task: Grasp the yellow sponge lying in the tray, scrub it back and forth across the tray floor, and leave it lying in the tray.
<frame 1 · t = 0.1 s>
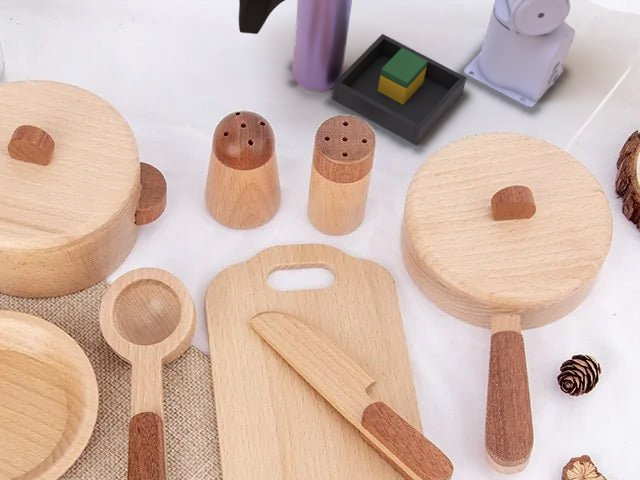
hand: (246, 6, 120), 11 cm above the table, tool pointing down, fingers open, 7 cm apart
sponge: (400, 87, 128), resting on tray
tray: (396, 99, 127), on the table
beverage can: (316, 77, 129), on the table
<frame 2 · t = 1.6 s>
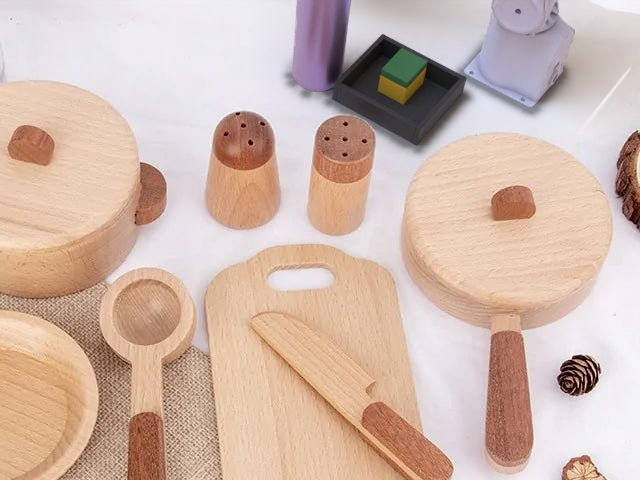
nothing on the table moved.
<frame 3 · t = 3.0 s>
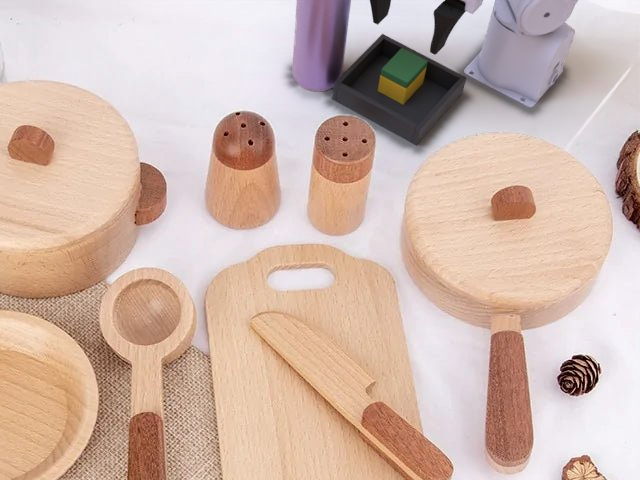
hand: (408, 33, 122), 8 cm above the table, tool pointing down, fingers open, 7 cm apart
nothing on the table moved.
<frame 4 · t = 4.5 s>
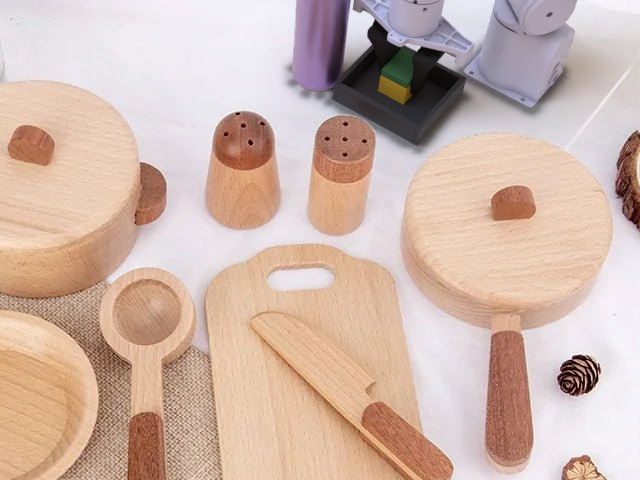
hand: (401, 81, 127), 1 cm above the table, tool pointing down, fingers closed on sponge, 3 cm apart
sponge: (400, 87, 128), resting on tray, touching gripper
everything else where it was.
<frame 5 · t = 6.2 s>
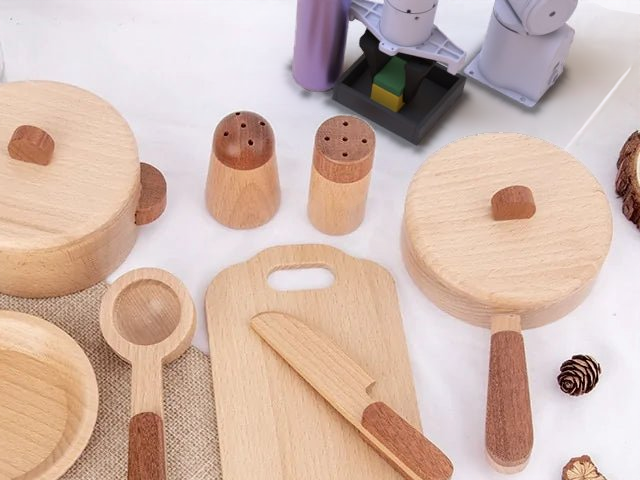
hand: (393, 89, 126), 1 cm above the table, tool pointing down, fingers closed on sponge, 3 cm apart
sponge: (393, 95, 127), point 1 cm above the table, touching gripper, tray
everything else where it was.
when the fingers open (1 cm above the table, at t = 7.7 s): sponge stays where it is, resting on tray.
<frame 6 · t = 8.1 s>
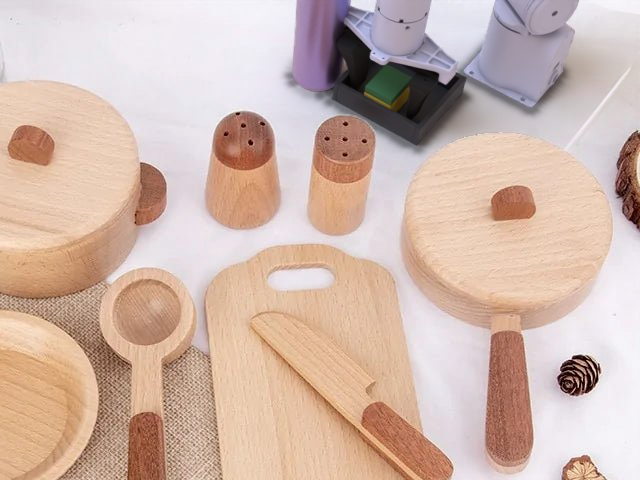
hand: (385, 98, 126), 1 cm above the table, tool pointing down, fingers open, 7 cm apart
sponge: (384, 103, 126), resting on tray
beverage can: (316, 77, 129), on the table, touching gripper
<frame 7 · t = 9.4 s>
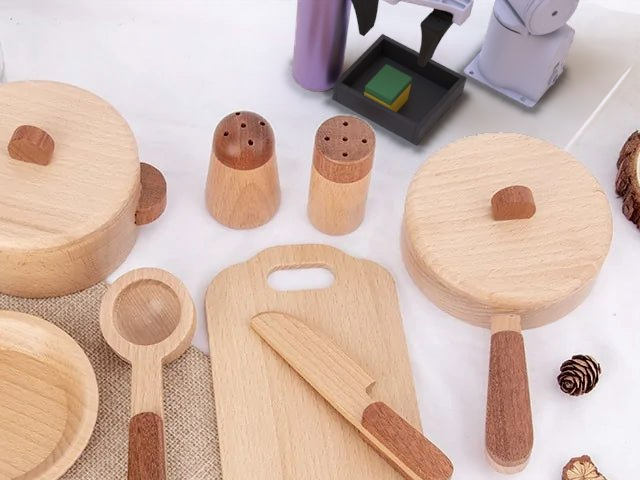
hand: (395, 45, 119), 9 cm above the table, tool pointing down, fingers open, 7 cm apart
beverage can: (316, 77, 129), on the table
everything else where it was.
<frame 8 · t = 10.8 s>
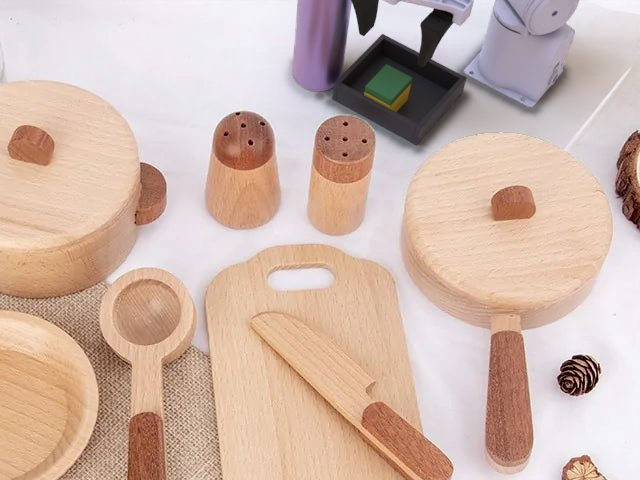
hand: (395, 45, 119), 9 cm above the table, tool pointing down, fingers open, 7 cm apart
nothing on the table moved.
at the end: sponge inside the target area in the tray (2.1 cm from its centre), point 0.5 cm above the tray's base; sponge moved 3.4 cm from its start; the gripper is holding nothing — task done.
